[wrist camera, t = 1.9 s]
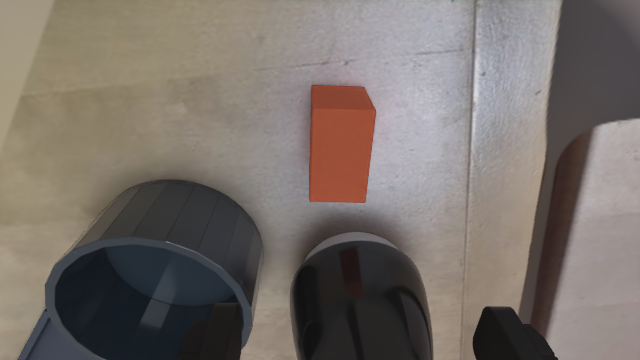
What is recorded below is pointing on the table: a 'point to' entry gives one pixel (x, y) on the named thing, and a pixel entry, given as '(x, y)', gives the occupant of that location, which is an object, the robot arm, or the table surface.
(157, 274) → the crock
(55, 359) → the tray
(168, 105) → the table surface
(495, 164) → the table surface
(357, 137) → the sponge
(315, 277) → the pump dispenser
